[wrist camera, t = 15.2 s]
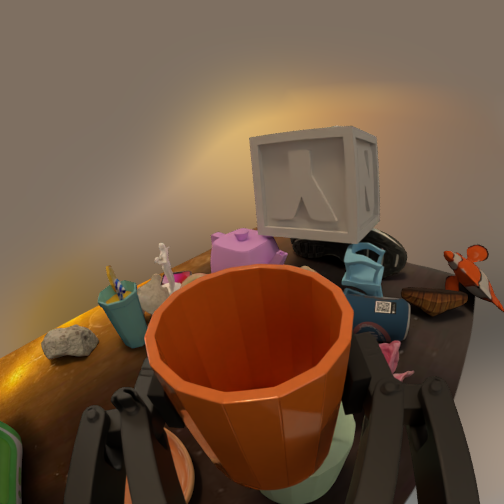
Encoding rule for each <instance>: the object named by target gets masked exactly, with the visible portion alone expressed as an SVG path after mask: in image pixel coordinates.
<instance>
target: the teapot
mask: <svg viewBox="0 0 504 504" xmlns="http://www.w3.org/2000/svg"><path fill="white" fill-rule="evenodd" d="M211 239H212V251H211V272H212V273H214V272H217V271H220V270H223V269H226V268H230V267H238V266H245V265H252V264H278V265H284V262H285V259H286V257H287V255H288V253H286V252H283V251H281V250H279V248H278V246H277V243H276V241H275V239H274V237H273V236H266V235H258V231H256V230H251V229H246V228H241V229H237V230H235V231H232V232H230V233H228V234H223V233H220V232H216V233H214V234H212V235H211Z"/></svg>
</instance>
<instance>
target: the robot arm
mask: <svg viewBox="0 0 504 504" xmlns="http://www.w3.org/2000/svg"><path fill="white" fill-rule="evenodd" d="M141 369H142V370H141V371H140V373H139V376H138V379H137V382H136V385H135V387H134V389H133V388H130V387H123V388H121V389H118V390H117V391H116V392H115V393H114V394H113V396H112V398H111V402H112V404H113V405H114V406H115V407H116V409H113V410H107V411H105V410H104V409H103V408H102V407H100V406H97V405H94V406H90V407H88V408H87V409H86V410H85V411H84V412H83V414H82V418H81V421H80V425H79V429H78V433H77V436H76V441H75V445H74V449H73V453H72V458H71V463H70V467H69V473H68V478H67V484H66V490H65V496H64V503H63V504H124V500H125V485H126V475H127V481H128V486H129V491H130V496H131V501H132V504H187V503H186V501H185V498H184V495H183V491H182V488H181V485H180V482H179V479H178V475H177V472H176V468H175V465H174V461H173V457H172V454H171V450H170V446H169V442H168V438H167V433H166V431H165V430H164V424H165V422H166V423H167V425H168V426H169V427H175V428H184V426H185V423H184V421H183V420H182V418H181V417H180V415H179V413H178V412H177V410H176V409H175V407H174V406H173V404H172V402H171V401H170V399H169V397H168V396H167V394H166V392H165V391H164V389H163V387H162V386H161V384H160V382H159V380H158V379H157V377H156V375H155V373H154V372H153V370H152V368H151V366H150V364H149V360H148V357H147V358H146V359H145V360H144V362H143V365H142V368H141ZM341 402H342V405H343V409H344V413H345V415H350V414H354V413H359V412H361V410H362V407H363V408H364V411H365V416H364V419H363V422H362V424H361V426H362V432H361V438H360V443H359V448H358V453H357V458H356V462H355V466H354V471H353V475H352V479H351V483H350V487H349V490H348V494H347V498H346V501H345V504H392V503H393V499H394V493H395V488H396V482H397V476H398V469H399V462H400V454H401V444H402V433H403V425H406V429H407V434H408V439H409V444H410V450H411V455H412V461H413V468H414V474H415V482H416V490H417V499H418V504H480V501H479V495H478V489H477V483H476V478H475V474H474V469H473V464H472V461H471V456H470V452H469V448H468V445H467V441H466V438H465V434H464V431H463V427H462V424H461V421H460V418H459V415H458V412H457V409H456V406H455V403H454V400H453V398H452V395H451V392H450V389H449V387H448V385H447V383H446V381H445V380H443V379H442V378H440V377H429V378H427V379H426V380H425V381H424V382H423V383H422V384H405V383H402V382H401V381H400V380H398V379H397V378H395V377H394V376H393V374H392V372H391V369H390V367H389V365H388V363H387V361H386V359H385V356H384V354H383V353H382V350H381V348H380V347H379V344H378V342H377V340H376V338H375V337H374V336H373V335H372V334H371V333H370V332H364V333H358V334H354V331H353V329H352V339H351V346H350V353H349V360H348V366H347V372H346V378H345V383H344V389H343V394H342V399H341Z"/></svg>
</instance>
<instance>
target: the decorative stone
mask: <svg viewBox="0 0 504 504" xmlns="http://www.w3.org/2000/svg"><path fill="white" fill-rule="evenodd" d="M98 342H99V340H98V338H97V337H96V336H95V334H94V333H92V331H90V330H89V329H88V328H85V327H80V326H78V325H73V326H71V327H68V328H57V329H54V330H51V331H49V332H48V333H47V334H46V336H45V338H44V340H43V342H42V343H41V345H42V349H43V352H44V354H45V355H46V357H47V358H48V359H54V358H59V357H61V356H64V355H72V356H78V357H79V356H88V355H89V354H90V353H91V352H92V351H93V349H94V348H95V347H96V345H97V344H98Z"/></svg>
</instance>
